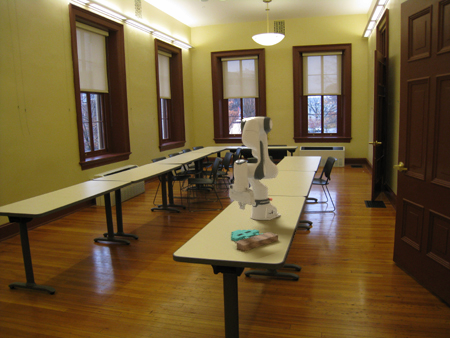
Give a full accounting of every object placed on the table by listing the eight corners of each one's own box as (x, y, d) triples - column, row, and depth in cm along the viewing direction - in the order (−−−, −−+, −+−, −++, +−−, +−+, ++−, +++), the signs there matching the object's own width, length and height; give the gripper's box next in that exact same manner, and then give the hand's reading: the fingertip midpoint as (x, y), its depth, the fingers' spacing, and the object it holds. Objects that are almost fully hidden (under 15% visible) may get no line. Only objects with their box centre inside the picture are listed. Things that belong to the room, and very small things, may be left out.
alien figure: (270, 237, 219) (246, 230, 234) (270, 233, 219) (246, 227, 234) (247, 245, 206) (223, 238, 221) (247, 242, 206) (223, 234, 220)
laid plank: (268, 237, 218) (268, 231, 218) (278, 240, 212) (278, 235, 212) (234, 247, 203) (234, 241, 203) (243, 251, 197) (243, 245, 196)
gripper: (257, 188, 213) (257, 211, 215) (235, 183, 229) (236, 204, 231) (248, 190, 209) (249, 213, 211) (227, 185, 225) (228, 206, 228)
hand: (242, 209), depth 222 cm, fingers closed
